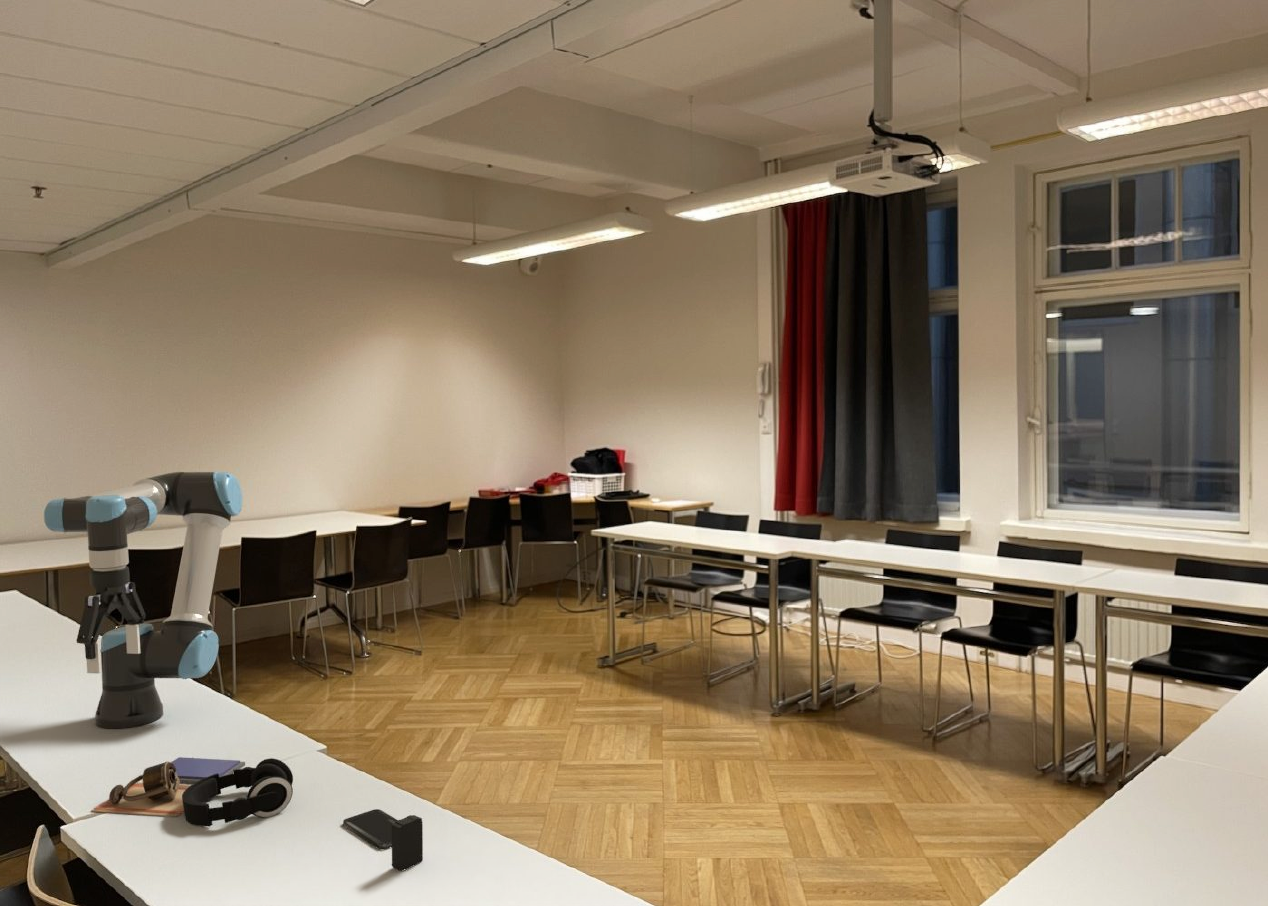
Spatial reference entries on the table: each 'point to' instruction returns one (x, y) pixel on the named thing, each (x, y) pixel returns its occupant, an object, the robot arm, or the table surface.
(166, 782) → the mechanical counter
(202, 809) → the headphones
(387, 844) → the phone
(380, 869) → the table surface
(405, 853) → the ink cartridge
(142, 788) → the print sheet
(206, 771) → the ink pad
